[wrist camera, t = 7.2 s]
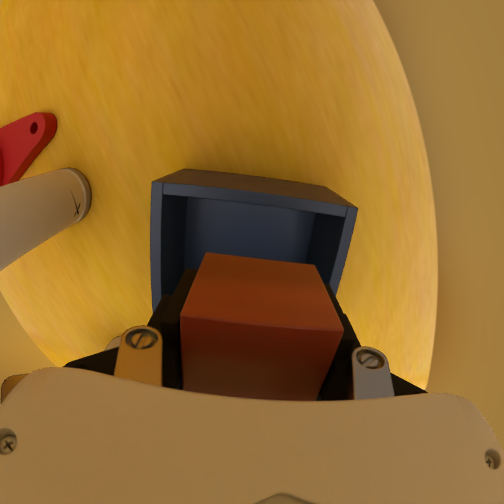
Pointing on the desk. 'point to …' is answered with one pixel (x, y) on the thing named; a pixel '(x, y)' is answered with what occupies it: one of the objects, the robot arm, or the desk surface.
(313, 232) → the dark grey hollow box
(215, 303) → the block
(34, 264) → the desk surface
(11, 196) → the travel mug
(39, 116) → the lever
